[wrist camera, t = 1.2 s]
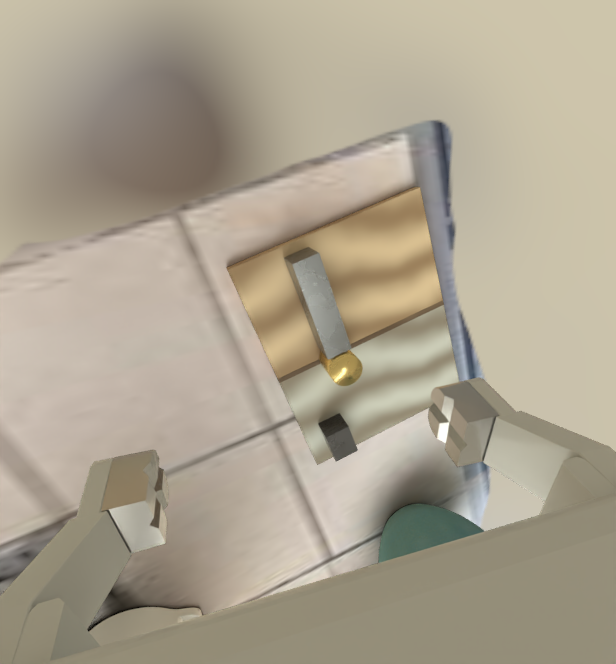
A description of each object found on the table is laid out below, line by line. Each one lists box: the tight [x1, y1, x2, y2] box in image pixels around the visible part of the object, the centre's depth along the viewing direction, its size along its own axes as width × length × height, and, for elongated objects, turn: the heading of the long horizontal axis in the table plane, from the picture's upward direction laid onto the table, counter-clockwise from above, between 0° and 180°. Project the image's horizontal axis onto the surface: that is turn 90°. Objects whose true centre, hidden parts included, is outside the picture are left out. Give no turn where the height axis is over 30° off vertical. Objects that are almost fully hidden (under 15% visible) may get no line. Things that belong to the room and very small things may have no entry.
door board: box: [227, 187, 459, 465], centre depth 47 cm, size 28×22×1 cm
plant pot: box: [378, 504, 485, 563], centre depth 57 cm, size 18×18×12 cm
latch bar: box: [284, 247, 363, 386], centre depth 41 cm, size 15×4×4 cm, turn 20°
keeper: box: [318, 413, 358, 461], centre depth 48 cm, size 4×3×3 cm
